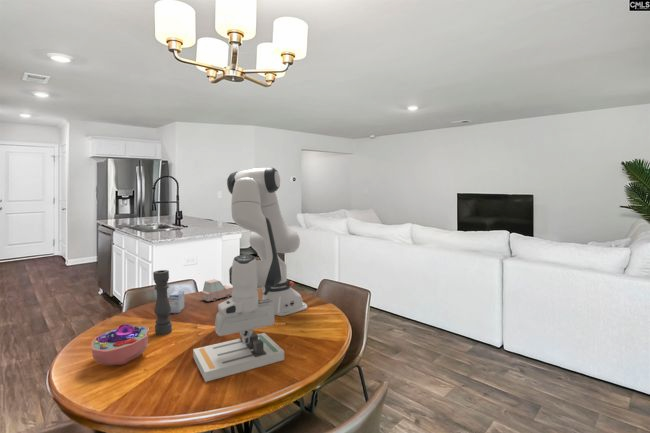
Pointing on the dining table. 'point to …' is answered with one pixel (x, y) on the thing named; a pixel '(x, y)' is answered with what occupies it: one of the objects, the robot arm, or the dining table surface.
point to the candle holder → (162, 303)
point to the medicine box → (176, 301)
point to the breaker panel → (234, 357)
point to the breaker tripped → (252, 338)
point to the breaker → (258, 348)
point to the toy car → (215, 290)
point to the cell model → (120, 344)
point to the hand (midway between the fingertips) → (246, 342)
